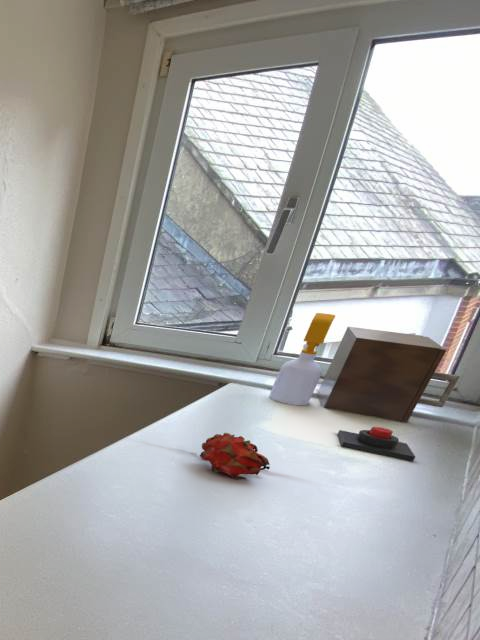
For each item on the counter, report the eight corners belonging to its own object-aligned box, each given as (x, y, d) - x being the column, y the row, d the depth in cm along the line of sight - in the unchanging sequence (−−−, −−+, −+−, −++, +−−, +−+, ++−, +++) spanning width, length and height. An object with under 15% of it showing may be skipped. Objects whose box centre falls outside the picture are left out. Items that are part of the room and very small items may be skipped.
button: (387, 436, 123) (391, 429, 122) (390, 441, 120) (394, 433, 119) (367, 432, 124) (370, 425, 124) (369, 436, 122) (373, 429, 121)
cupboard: (386, 405, 158) (422, 335, 149) (399, 425, 142) (441, 348, 133) (317, 393, 166) (347, 326, 157) (322, 410, 150) (356, 337, 141)
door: (415, 409, 155) (454, 340, 146) (431, 430, 139) (476, 353, 130) (387, 405, 158) (423, 336, 149) (400, 424, 142) (441, 349, 133)
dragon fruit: (189, 466, 114) (250, 496, 107) (187, 453, 108) (252, 484, 100) (215, 433, 114) (278, 461, 106) (215, 418, 107) (282, 446, 100)
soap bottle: (308, 404, 155) (348, 315, 144) (304, 410, 149) (346, 318, 138) (270, 396, 161) (306, 310, 150) (265, 402, 155) (302, 313, 144)
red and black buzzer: (401, 452, 124) (411, 435, 123) (410, 466, 117) (420, 449, 115) (335, 438, 130) (342, 422, 129) (339, 450, 123) (347, 434, 121)
